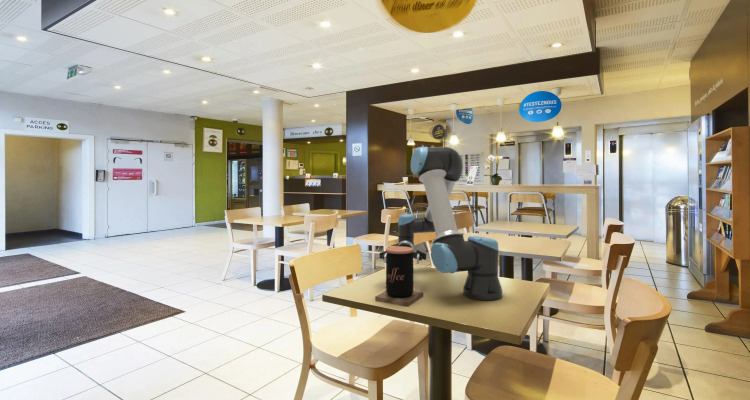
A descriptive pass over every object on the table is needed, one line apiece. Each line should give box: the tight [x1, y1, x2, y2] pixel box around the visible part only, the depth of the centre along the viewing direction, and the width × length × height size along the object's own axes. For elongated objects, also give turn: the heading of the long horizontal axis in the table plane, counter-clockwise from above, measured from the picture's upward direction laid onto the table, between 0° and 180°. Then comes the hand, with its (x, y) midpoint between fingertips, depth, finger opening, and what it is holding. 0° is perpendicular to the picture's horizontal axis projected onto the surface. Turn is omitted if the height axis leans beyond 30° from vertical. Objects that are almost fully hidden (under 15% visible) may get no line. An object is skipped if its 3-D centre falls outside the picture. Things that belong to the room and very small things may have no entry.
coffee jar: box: [385, 245, 414, 298], centre depth 149 cm, size 11×11×18 cm
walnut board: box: [374, 290, 424, 307], centre depth 150 cm, size 14×14×2 cm
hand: (401, 260), depth 158 cm, fingers open, 13 cm apart
